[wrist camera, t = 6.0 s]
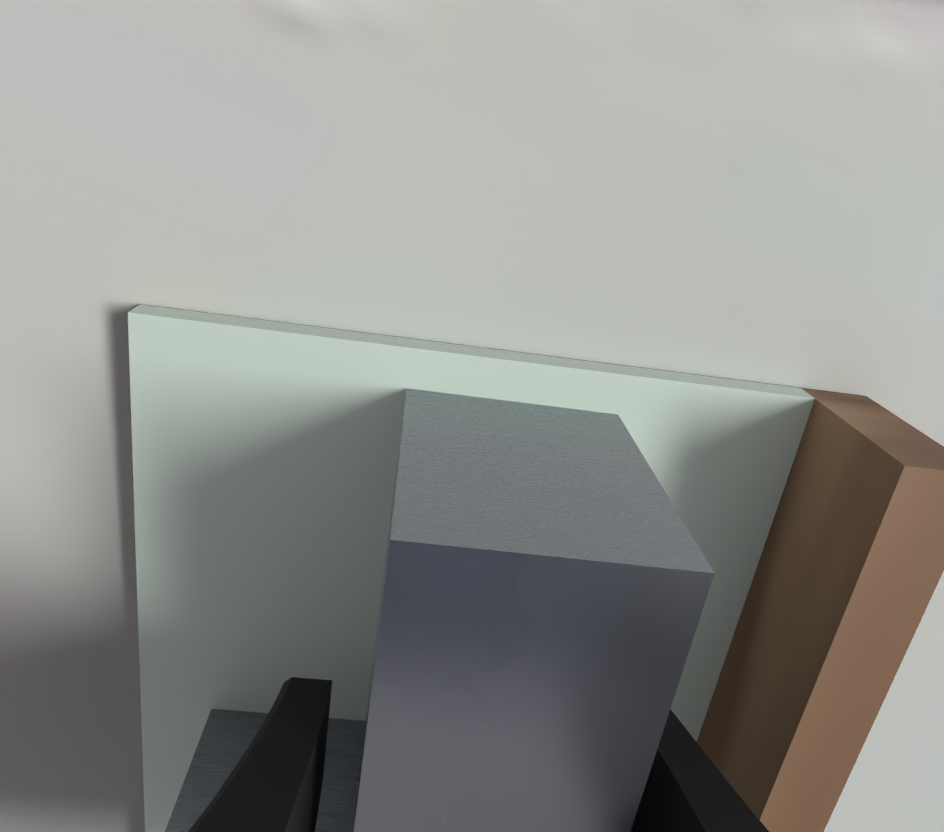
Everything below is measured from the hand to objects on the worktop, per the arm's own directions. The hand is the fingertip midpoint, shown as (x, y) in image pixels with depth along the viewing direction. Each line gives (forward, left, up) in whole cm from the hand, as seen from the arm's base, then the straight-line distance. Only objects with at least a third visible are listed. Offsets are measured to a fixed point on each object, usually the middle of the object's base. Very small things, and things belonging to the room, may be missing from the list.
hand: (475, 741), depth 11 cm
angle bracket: (-1, 0, -2) cm, 3 cm away
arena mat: (0, -2, -3) cm, 3 cm away
